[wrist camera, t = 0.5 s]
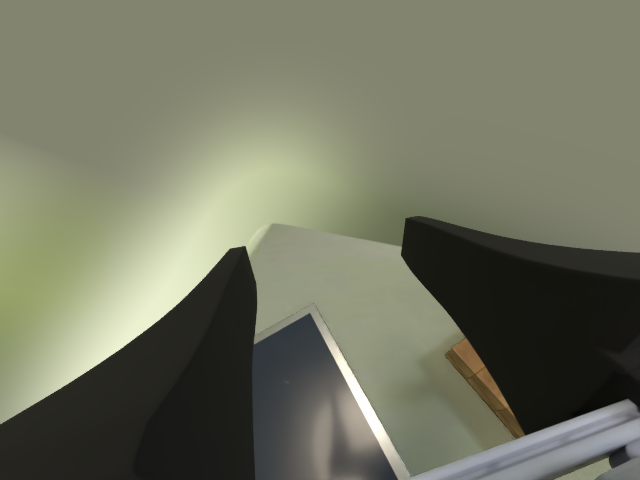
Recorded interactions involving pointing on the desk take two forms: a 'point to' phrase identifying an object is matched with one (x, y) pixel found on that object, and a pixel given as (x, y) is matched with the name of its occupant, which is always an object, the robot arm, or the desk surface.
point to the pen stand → (483, 383)
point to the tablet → (314, 409)
